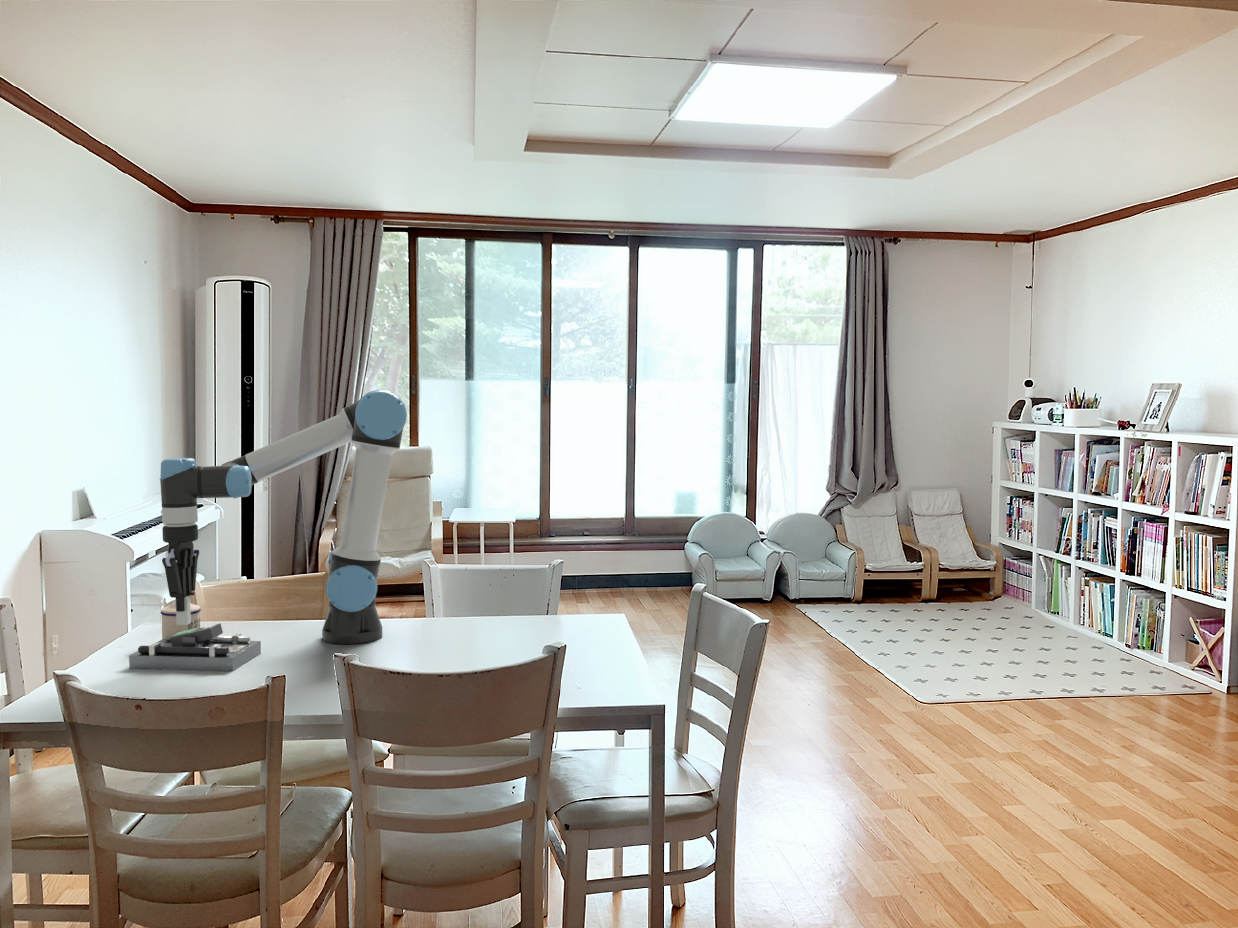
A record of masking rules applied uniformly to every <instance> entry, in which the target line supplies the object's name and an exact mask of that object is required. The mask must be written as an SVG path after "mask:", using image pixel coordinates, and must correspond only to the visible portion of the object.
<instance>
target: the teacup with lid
mask: <svg viewBox="0 0 1238 928" xmlns="http://www.w3.org/2000/svg"><path fill="white" fill-rule="evenodd" d="M190 610H191V623H190V624H188V625H177V624H176V601H175V602H173V603H171V604H169V605H168V606H165V607H162V609H161V610H160V614H161V635H162V637H161V640H162V639H164V638H165V636H166V635H175V634H177V633H179V632H182V631H186V630H190V629H195V628H201V613H200V612H201V610H202V609H201V606H199V605H198V604H193V603H191V602H190Z"/></svg>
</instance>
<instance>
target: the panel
mask: <svg viewBox="0 0 1238 928" xmlns="http://www.w3.org/2000/svg"><path fill="white" fill-rule="evenodd" d="M171 636H173V635H166V636H165V638H164V639H162V638H161V639H160V640H159V641H156V642H153V643H152V644H150V645H140V646H139V647H137V651H135V652H133V653H131V654H129V655H128V662H129V664H128V665H129V666H128V668H129V669H132V670H133V669H134V670H135V669H141V670H179V671H182V670H183V671H184V670H185V671H213V672H214V671H216V672H217V671H218V672H219V671H223V672H224V671H225V672H234V671H236V670H237V669H239V668H240V667H242V666H244V665H245V664H247V663H248V662H249V661H250V660H253V659H254V658H256V657H257V656H259V655H260V654H261V653H262V652H261V651H262V649H261V645H262V644H261V640H251V637H250V636H242V633H235V634H233V635H231V636H222V635H221V636H220V635H219V636H217V637H215V638H213V639H209V640H204V641H200V642H197V637H191V636H184V637H182V639H183V646H172V644H171V641H170V638H171Z"/></svg>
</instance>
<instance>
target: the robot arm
mask: <svg viewBox="0 0 1238 928" xmlns="http://www.w3.org/2000/svg"><path fill="white" fill-rule="evenodd" d="M407 417H408V415H407V408H406V405H405V403H404V402H403V400H402V399H401V397H399V396H398V394H396V393H395V392H392V391H389V390H387V389H374V390H371V391H369V392H367V393H365V394H364V395H363V396H362V397H361V398H360V399H358V400H357V401H355V402H354V403H351V404H349V405H348V406H345V407H342V408H341V411H340V413H339V414H337V415H335V416H334V415H333V416H332V417H330V418H327V419H325V420H323V421H320V422H318V423H316V424H314V425H311V426H309V427H307V428H304V429H302V430H300V431H298V432H295V433H293V434H290V435H288V436H286V437H283V438H281V439H279V440H277V441H275V442H272V443H270V444H268V445H264V446H263V447H261V448H258V449H256V450H253V451H251V452H248V453H246V454H245V455H242V456H240V457H237V458H236V459H233V460H230V461H227V462H225V463H222V464H221V465H213V466H211V465H210V466H209V465H208V466H202V465H197V463H196V460H195V458H193V457H171V458H165V459H163V460H162V461H161V463H160V477H159V482H160V483H159V484H160V497H161V499H160V500H161V511H160V514H161V517H162V518H161V520H162V522H161V523H162V524H163V526H162V529H161V530H162V532H161V533H162V541H163V543H167V544H168V550H167V553H168V555H167V556H166V557H163V558H162V559H161V562H162V565H163V567H164V570H165V577H166V583H167V589H168V594H169V597H170V598H172V599H173V598H175V602H176V624H177V625H188V624H190V623H191V610H190V603H191V596H194V595H195V594H196V592H195V590H196V583H197V572H198V571H197V570H198V559H199V557H200V556H199V555H200V550H199V549H195V548H194V546H195V545H194V542H195V541H198V539H199V526H198V525H197V524H196V523H197V522H199V519H198V518H199V517H198V499H219V498H221V499H223V498H224V499H225V498H226V499H227V498H233V499H238V498H246V497H249V496H250V495H251V494H252V487H253V485H255V484H257V483H259V482H263V481H265V480H266V479H269V478H272V477H274V476H276V475H278V474H280V473H283V472H285V471H287V470H289V469H293V468H295V467H296V466H299V465H300V464H304V463H306V462H308V461H310V460H312V459H314V458H317V457H320V456H322V455H324V454H326V453H328V452H331V451H333V450H336V449H338V448H340V447H343V446H344V445H347V444H350V443H352V445H353V446H354V447H355V449H356V451H355V456H354V457H355V458H354V461H353V467H352V473H351V479H350V485H349V490H348V491H349V492H348V497H347V503H346V508H345V515H344V520H343V525H342V526H343V527H342V532H341V537H340V544H339V546H337V547H336V548H334V550H331V551H330V552H329V554H328V559H327V563H328V575H327V576H328V577H327V580H326V583H325V594H326V595H327V599H328V611H327V615H326V617H325V620H324V623H323V627H322V630H321V631H322V632H321V639H322V641H324V642H326V643H331V644H335V645H336V644H337V645H339V644H340V645H353V644H354V645H356V644H363V643H369V642H372V641H373V642H374V641H376V640H379V639H380V638H381V639H382V637H383V625H382V621H381V619H380V616H379V614H378V610H377V606H376V596H377V593H378V580H379V579H378V578H379V572H380V571H379V570H380V566H381V560H382V557H381V555H380V554H379V553H378V551H377V546H378V540H379V535H380V530H381V529H380V528H381V523H382V516H383V512H384V507H385V506H384V505H385V500H386V494H387V488H388V487H387V486H388V481H389V476H390V471H391V470H390V469H391V466H392V465H391V464H392V459H393V454H395V453H397V451H399V450H400V448H401V442H402V437H403V432H404V428H405V425H406V422H407Z"/></svg>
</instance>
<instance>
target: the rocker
mask: <svg viewBox="0 0 1238 928" xmlns="http://www.w3.org/2000/svg"><path fill="white" fill-rule="evenodd" d="M222 634H224V631H223V628H222V624H221V623H217V624H216V623H214V624H210V625H207V626H204V627H200V628H195V629H190V630H186V631H182V632H179V633H177V634H175V635H173V636H171V638H170V641H171V644H172V646H183V639H182V637H184V636H191V637H197V642H200V641H204V640H209V639H213V638H215V637H217V636H220V635H222Z"/></svg>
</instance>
